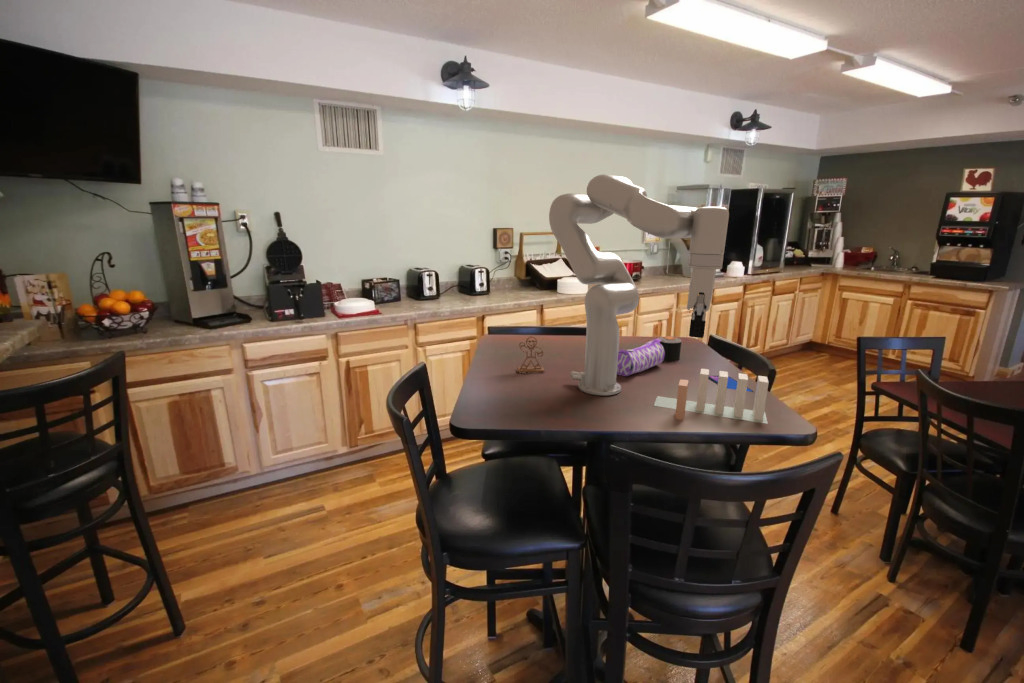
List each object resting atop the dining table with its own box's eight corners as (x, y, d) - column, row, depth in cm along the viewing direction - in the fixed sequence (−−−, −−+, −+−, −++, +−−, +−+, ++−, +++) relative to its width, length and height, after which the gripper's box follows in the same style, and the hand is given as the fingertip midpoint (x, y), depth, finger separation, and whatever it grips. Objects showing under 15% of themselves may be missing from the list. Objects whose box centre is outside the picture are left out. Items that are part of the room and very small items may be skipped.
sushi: (651, 356, 176) (653, 336, 174) (668, 354, 179) (670, 334, 177) (666, 362, 169) (668, 340, 167) (683, 359, 172) (686, 338, 170)
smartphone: (732, 392, 138) (706, 375, 152) (731, 394, 138) (706, 378, 152) (755, 391, 138) (727, 375, 153) (754, 394, 139) (727, 377, 153)
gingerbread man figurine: (543, 369, 158) (544, 335, 155) (544, 373, 154) (545, 338, 151) (517, 369, 157) (517, 335, 154) (518, 373, 154) (518, 338, 151)
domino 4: (733, 416, 118) (739, 378, 115) (733, 409, 122) (738, 373, 120) (742, 417, 117) (748, 379, 115) (741, 410, 121) (747, 374, 119)
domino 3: (714, 413, 120) (719, 376, 117) (714, 406, 124) (719, 370, 122) (723, 414, 119) (728, 377, 116) (723, 407, 123) (727, 371, 121)
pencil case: (631, 380, 149) (633, 351, 146) (607, 373, 155) (609, 346, 153) (665, 366, 164) (668, 340, 161) (642, 361, 170) (644, 336, 168)
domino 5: (753, 419, 116) (759, 381, 114) (752, 412, 120) (758, 375, 118) (762, 420, 115) (768, 382, 113) (761, 413, 120) (766, 376, 117)
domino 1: (674, 422, 116) (678, 385, 114) (676, 415, 121) (680, 379, 118) (683, 424, 115) (687, 386, 113) (684, 417, 120) (688, 380, 117)
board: (653, 409, 124) (653, 405, 124) (657, 400, 131) (657, 396, 131) (767, 428, 114) (767, 423, 114) (764, 416, 121) (765, 412, 121)
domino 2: (695, 410, 121) (700, 373, 119) (696, 403, 126) (701, 368, 123) (704, 411, 121) (708, 374, 118) (704, 405, 125) (709, 369, 123)
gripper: (689, 258, 118) (682, 324, 122) (686, 263, 102) (678, 338, 107) (721, 260, 115) (712, 327, 119) (723, 265, 100) (713, 342, 104)
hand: (696, 332), depth 113 cm, fingers open, 9 cm apart
